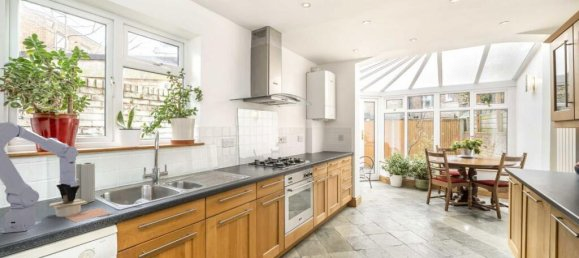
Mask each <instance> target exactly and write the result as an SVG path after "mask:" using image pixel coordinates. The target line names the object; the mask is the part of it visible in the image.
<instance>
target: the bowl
mask: <svg viewBox="0 0 579 258" xmlns="http://www.w3.org/2000/svg"><path fill="white" fill-rule="evenodd" d="M81 210H82V205H78V206H73V207H68V208H64V209H59V210H57V209H55V208H54V211H55V214H54V215H55V217H60V218H61V217H63V216H69V215H74V214H77V213H80V212H82V211H81ZM63 218H64V217H63Z"/></svg>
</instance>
